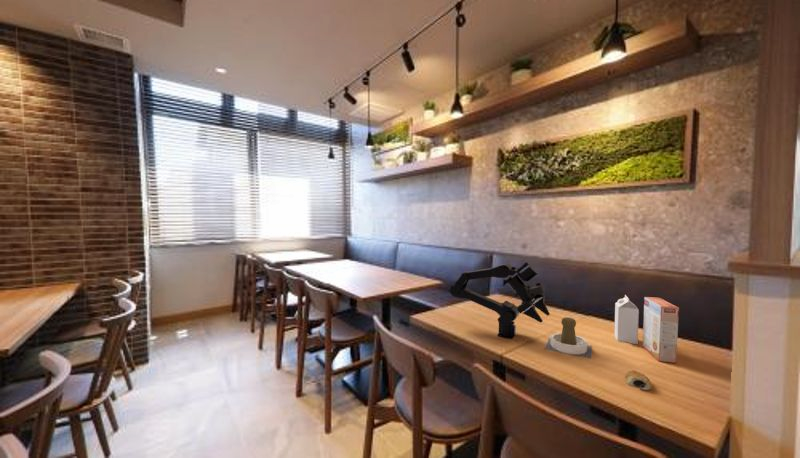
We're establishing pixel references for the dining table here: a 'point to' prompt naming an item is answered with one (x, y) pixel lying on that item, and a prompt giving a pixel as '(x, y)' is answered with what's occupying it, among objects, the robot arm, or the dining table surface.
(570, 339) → the pepper mill
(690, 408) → the dining table surface
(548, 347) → the mat
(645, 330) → the cracker box
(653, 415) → the dining table surface
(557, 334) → the bowl
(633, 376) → the pastry
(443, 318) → the dining table surface
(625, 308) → the milk carton
